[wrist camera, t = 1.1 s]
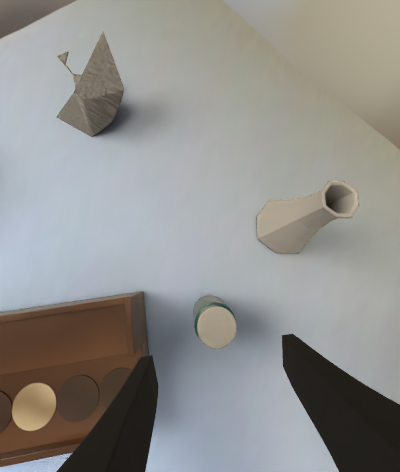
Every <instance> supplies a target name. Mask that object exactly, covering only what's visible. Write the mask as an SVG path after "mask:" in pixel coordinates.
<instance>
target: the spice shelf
mask: <svg viewBox="0 0 400 472" xmlns="http://www.w3.org/2000/svg"><path fill="white" fill-rule="evenodd" d="M144 356H149V352H148V340H147V329H146V317H145V305H144V294H143V291H141V292H134V293H127V294H121V295H114V296H107V297H100V298H93V299H87V300H80V301H73V302H66V303H60V304H53V305H46V306H39V307H32V308H26V309H19V310H12V311H5V312H0V467H3V466H8V465H13V464H18V463H23V462H28V461H33V460H38V459H42V458H47V457H52V456H57V455H62V454H67V453H72V452H74V451H75V450H76V448H77V447H78V446H79V445H80V444H81V442H82V441H83V440H84V439H85V437H86V436H87V435H88V434H89V432H90V431H91V430H92V428H93V427H94V426H95V425H96V423H97V422H98V421H99V419H100V418H101V416H102V415H103V414H104V412H105V411H106V409H107V408H108V407H109V405H110V404H111V402H112V401H113V400H114V398H115V397H116V395H117V394H118V392H119V390H120V389H121V387H122V386H123V384H124V383H125V381H126V380H127V378H128V377H129V375H130V373H131V372H132V370H133V368H134V367H135V365H136V363H137V362H138V360H139V359H140V357H144Z"/></svg>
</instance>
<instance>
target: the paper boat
mask: <svg viewBox="0 0 400 472" xmlns="http://www.w3.org/2000/svg"><path fill="white" fill-rule="evenodd" d="M67 56H68V52H66V53H64V54H62V55H59V56H58V58H59V59H60V60H61V61H62V62H63V64H64V65H65V66H66V60H67ZM66 67H67V66H66ZM67 68H68V67H67ZM68 70H69V71H70V72H71V70H70V69H69V68H68ZM71 73H72V72H71ZM72 74H73V73H72ZM73 78H74V82H75V87H76V89H75V91H74V93H73V94H72V96H71V97H70V99H69V100H68V101H67V103H66V104H65V106H64V107H63V108H62V110H61V111H60V113H59V114H58V116H57V117H58V118H59V119H61V120H63V121H65V122H66V123H68V124H70V125H72V126H74V127H75V128H77V129H79V130H81V131H82V132H84V133H86V134H88V135H89V136H93V135H95V134H97V133H99V132H100V131H101V130H102V129H104V128H105V127H106V126H107V125H109V124H110V123H111V122H112V121H113V119H114V117H115V114H116V112H117V110H118V107H119V105H120V102H121V100H122V96H123V92H124V87H123V84H122V81H121V79H120V76H119V73H118V71H117V68H116V65H115V62H114V60H113V57H112V54H111V52H110V49H109V46H108V43H107V41H106V38H105V35H104V32H102V34H101V37H100V39H99V41H98V43H97V45H96V47H95V49H94V51H93V53H92V55H91V58H90V60H89V62H88V64H87V66H86V68H85V70H84V72H83V74H82V75H78V74H73Z"/></svg>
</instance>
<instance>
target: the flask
mask: <svg viewBox="0 0 400 472" xmlns="http://www.w3.org/2000/svg"><path fill="white" fill-rule="evenodd" d="M358 207H359V198H358V191H357V190H356V189H355V188H353V187H352V186H350V185H349V184H347V183H346V182H345V181H328V182H327V183H326V184H325V186H324V187H323V189H322V190H321V191H319V192H317V193H316V194H313V195H310V196H307V197H304V198H297V199H288V200H272V201H268V203H267V204H266V205H265V207H264V208H263V209H262V211H261V212H260V213H259V215H258V216H257V238H258V240H260V241H261V242H262V243H264V244H265V245H266V246H268V247H269V248H270V249H272V250H273V251H274V252H275V253H299V252H300V251H301V250H302V248H303V247H304V246H305V245H306V243H307V242H308V241H309V240H310V239H311V238H312V237H313V236H314V234H315V233H316V232H317V231H318V230H319V229H320V228H321V227H323V226H324V225H326V224H327V223H329V222H330V221H332V220H335V219H337V218H351V217H352V216H353V215H354V213H355V212H356V210H357V208H358Z"/></svg>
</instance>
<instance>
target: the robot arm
mask: <svg viewBox="0 0 400 472" xmlns="http://www.w3.org/2000/svg"><path fill="white" fill-rule="evenodd" d="M282 349H283V367H284V370H285V372H286V374H287V376H288V379H289V381H290V383H291V385H292V387H293V389H294V391H295V393H296V394H297V396H298V398H299V400H300V401H301V403H302V405H303V407H304V408H305V410H306V412H307V413H308V415H309V417H310V419H311V420H312V422H313V424H314V425H315V427H316V429H317V431H318V432H319V434H320V436H321V438H322V439H323V441H324V443H325V445H326V447H327V448H328V450H329V452H330V454H331V456H332V458H333V460H334V462H335V464H336V466H337V468H338V470H339V472H400V405H399V404H397V403H396V402H394V401H392V400H390V399H388V398H387V397H385V396H383V395H381V394H380V393H378V392H376V391H375V390H373V389H371V388H369V387H368V386H366V385H365V384H363V383H361V382H360V381H358V380H357V379H355V378H353V377H352V376H350V375H349V374H347V373H346V372H344V371H343V370H341V369H340V368H338V367H337V366H336V365H334V364H333V363H331V362H330V361H328V360H327V359H326V358H324V357H323V356H322V355H320V354H319V353H318V352H316V351H315V350H313V349H312V348H311V347H310V346H308V345H307V344H306V343H304V342H303V341H302V340H300V339H299V338H298V337H296V336H295V335H294V334H289V335H282ZM157 397H158V382H157V377H156V372H155V367H154V362H153V357H152V355H150V356H144V357H140V359H139V360H138V362H137V363H136V365H135V367H134V368H133V370H132V372H131V373H130V375H129V377H128V378H127V380H126V381H125V383H124V384H123V386H122V387H121V389H120V390H119V392H118V394H117V395H116V397H115V398H114V400H113V401H112V402H111V404H110V405H109V407H108V408H107V409H106V411H105V412H104V414H103V415H102V416H101V418H100V419H99V421H98V422H97V423H96V425H95V426H94V427H93V428H92V430H91V431H90V432H89V434H88V435H87V436H86V437H85V439H84V440H83V441H82V442H81V444H80V445H79V446H78V447H77V448H76V450H75V451H74V452H73V453H72V454H71V455H70V457H69V458H68V459H67V460H66V461H65V462H64V464H63V465H62V466H61V467H60V468H59V469H58V470H57V472H145V470H146V464H147V459H148V453H149V448H150V442H151V437H152V431H153V426H154V420H155V414H156V408H157Z"/></svg>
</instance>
